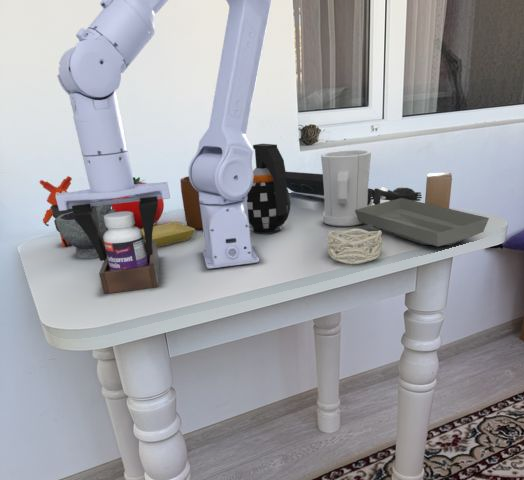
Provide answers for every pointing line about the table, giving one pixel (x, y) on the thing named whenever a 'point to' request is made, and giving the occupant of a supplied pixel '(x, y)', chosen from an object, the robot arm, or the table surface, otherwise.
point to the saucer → (170, 233)
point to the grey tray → (422, 221)
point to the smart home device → (305, 183)
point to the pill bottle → (124, 241)
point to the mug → (191, 204)
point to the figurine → (392, 194)
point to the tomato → (137, 208)
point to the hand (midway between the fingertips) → (127, 255)
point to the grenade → (268, 191)
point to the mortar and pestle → (82, 231)
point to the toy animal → (52, 200)
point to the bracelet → (344, 242)
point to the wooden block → (438, 189)
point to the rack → (131, 275)
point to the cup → (345, 186)
